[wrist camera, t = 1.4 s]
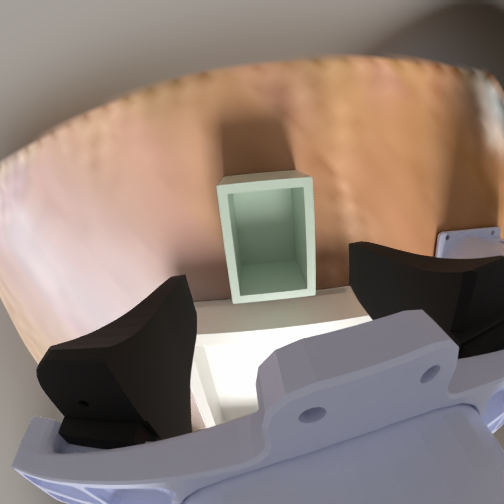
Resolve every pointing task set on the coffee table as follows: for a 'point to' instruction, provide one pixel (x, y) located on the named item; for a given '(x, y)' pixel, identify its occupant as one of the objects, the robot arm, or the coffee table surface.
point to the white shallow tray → (256, 344)
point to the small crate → (268, 235)
